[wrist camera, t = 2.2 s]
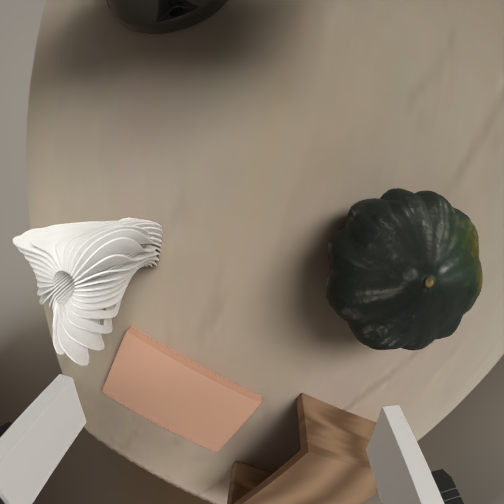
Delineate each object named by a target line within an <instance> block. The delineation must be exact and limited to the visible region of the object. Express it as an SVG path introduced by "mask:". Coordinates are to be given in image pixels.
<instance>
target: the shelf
mask: <svg viewBox="0 0 504 504" xmlns="http://www.w3.org/2000/svg"><path fill="white" fill-rule="evenodd" d="M296 400H297V411H298V422H299V434H300V446H301V450H300V451H299V452H298V453H296V454H295V455H294V456H293V457H292V458H291V459H290V460H288V461H287V462H286V463H285V464H284V465H283V466H281V467H280V468H279V469H278V470H277V471H275V472H274V473H270V472H267V471H264V470H261V469H258V468H255V467H252V466H249V465H247V464H244V463H241V462H238V461H236V462H235V463H234V464H233V466H232V473H231V481H230V487H229V494H228V501H227V504H361V503H363V502H364V501H366V500H367V499H369V498H370V497H371V496H373V495H375V494H376V493H377V492H378V490H377V486H376V483H375V479H374V476H373V472H372V469H371V465H370V462H369V459H368V455H367V452H366V449H367V446H368V444H369V441H370V439H371V436H372V434H373V431H374V429H375V426H376V422H373V421H370V420H367V419H365V418H362V417H359V416H357V415H354V414H352V413H349V412H346V411H344V410H341V409H339V408H336V407H334V406H332V405H329V404H327V403H324V402H322V401H320V400H317V399H315V398H313V397H310V396H308V395H306V394H303V393H301V394H300V396H299V397H298V398H297V399H296Z"/></svg>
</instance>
